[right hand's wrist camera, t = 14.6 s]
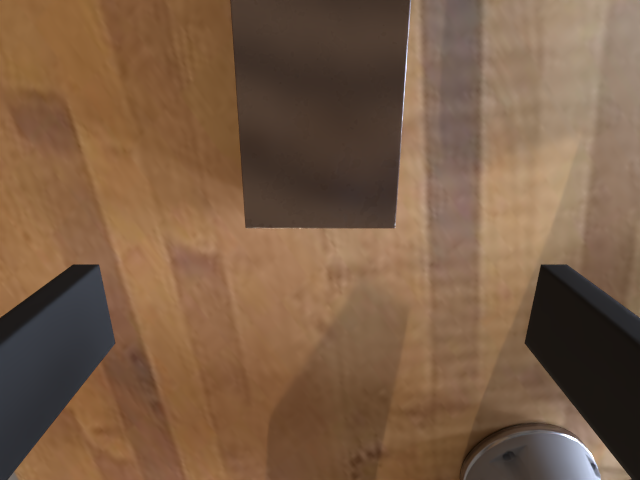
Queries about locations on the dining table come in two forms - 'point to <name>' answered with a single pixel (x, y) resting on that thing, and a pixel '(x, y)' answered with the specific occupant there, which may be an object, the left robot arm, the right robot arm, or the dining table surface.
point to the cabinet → (320, 110)
